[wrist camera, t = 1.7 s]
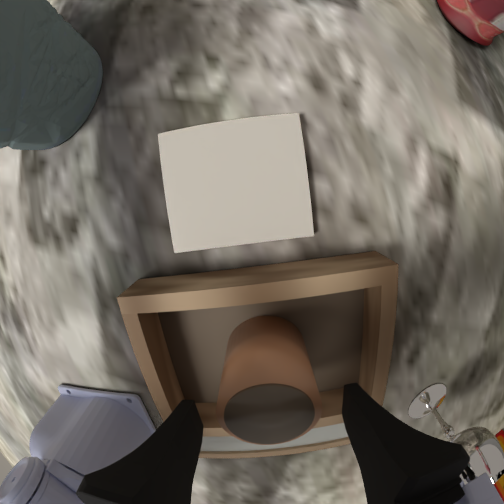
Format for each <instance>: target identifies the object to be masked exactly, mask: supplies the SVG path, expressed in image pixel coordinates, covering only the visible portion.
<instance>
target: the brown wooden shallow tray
mask: <svg viewBox="0 0 504 504" xmlns="http://www.w3.org/2000/svg"><path fill="white" fill-rule="evenodd" d="M397 292H398V264H397V263H395V262H394V261H392V260H390V259H388V258H387V257H385V256H383V255H381V254H380V253H378V252H376V251H371V252H364V253H356V254H349V255H341V256H334V257H326V258H318V259H310V260H302V261H295V262H287V263H278V264H270V265H262V266H254V267H245V268H237V269H228V270H220V271H211V272H202V273H193V274H184V275H175V276H165V277H156V278H147V279H138V280H137V281H136V282H135V283H134V284H132V285H131V286H130V287H129V288H128V289H126V290H125V291H124V292H123V293H122V294H120V295H119V296H118V297H117V300H118V303H119V307H120V310H121V313H122V317H123V320H124V323H125V326H126V330H127V333H128V336H129V339H130V342H131V344H132V347H133V350H134V353H135V356H136V359H137V361H138V364H139V367H140V369H141V372H142V374H143V377H144V379H145V382H146V384H147V387H148V389H149V391H150V394H151V396H152V398H153V401H154V403H155V405H156V407H157V410H158V412H159V414H160V416H161V418H162V420H163V422H164V421H165V420H166V419H167V418H168V416H169V415H170V414H171V413H172V412H173V410H174V409H175V408H176V407H177V405H178V404H179V403H180V402H181V401H182V400H194V401H195V404H196V407H197V410H198V412H199V415H200V418H201V421H202V423H203V426H204V427H203V437H224V436H231V435H230V434H228V433H227V432H226V431H225V430H224V429H223V428H222V427H221V426H220V424H219V423H218V420H217V417H216V405H217V400H218V394H219V388H220V383H221V377H222V371H223V366H224V360H225V354H226V349H227V343H228V339H229V337H230V335H231V333H232V332H233V330H234V329H235V328H236V327H237V326H238V325H240V324H241V323H242V322H244V321H246V320H248V319H250V318H254V317H258V316H276V317H280V318H283V319H285V320H288V321H289V322H291V323H292V324H294V325H295V326H296V327H297V328H298V329H299V331H300V332H301V334H302V336H303V339H304V343H305V346H306V350H307V353H308V356H309V360H310V363H311V367H312V370H313V374H314V377H315V381H316V384H317V388H318V391H319V395H320V398H321V402H322V414H321V417H320V419H319V421H318V422H317V424H316V425H315V426H314V427H313V428H319V427H325V426H330V425H335V424H340V423H344V421H343V417H342V404H343V392H344V385H346V384H351V383H358V384H359V385H360V386H361V387H362V388H363V389H364V390H365V391H366V392H367V393H368V394H369V395H370V396H371V397H372V398H373V399H374V400H375V401H376V402H377V403H378V404H379V405H381V406H382V405H383V400H384V396H385V391H386V385H387V380H388V374H389V368H390V361H391V355H392V347H393V339H394V330H395V320H396V308H397ZM313 428H312V429H313Z"/></svg>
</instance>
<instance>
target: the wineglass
mask: <svg viewBox="0 0 504 504" xmlns="http://www.w3.org/2000/svg"><path fill="white" fill-rule="evenodd" d="M446 392H447V389H446V386H445V385H444V384H434V385H432V386H430V387H428V388H426V389H425V390H423V391H422V392H421V393H420V394H418V395H417V396H416V397H415V399H414V400H413V401H412V403H411V404H410V406H409V409H408V415H409V416H410V417H411V418H414V419H417V418H422V417H424V416H426V415H428V414H430V413H431V412H432V413H433V414H434V416H435V417H436V419H437V420H438V422H439V423H440V426H441V428H442V433H443V435H444V436H445V437H446V438H447V439H450V440H449V441H448V442H452V443H457V444H461V445H462V446H463V448H464V449H465V450H466V452H467V453H468V455H469V457H470V461H469V464H468V465H467V467H466V468H465V469H464V471H463V472H462V473H461V475H460V478H461V480H462V482H461V483H460V485H461V487H463V486H465V485H466V484H467V483H469V482H470V481H472V480H474V479H475V478H477V477H478V476H480V475H482V474H483V473H487V474H488V476H489V478H490V479H491V481H492V483H493V484H494V483H495V482H497V481H498V480H499V479H500V478H501V477H502V476H503V474H504V452H503V449H502V447H501V445H500V443H499V441H498V439H497V438H496V436H495V435H494V434H493V433H492V432H491V431H489V430H488V429H486V428H484V427H471V428H468V429H466V430H464V431H462V432H460V433H458V434H456V435H454V430H453V428H452V427H451V426H450V425H448V424H447V423H446V422H445V421H444V420H443V419H442V417H441V416H440V414H439V413H438V411H437V409H436V408H437V407H438V406H439V405H440V404H441V403H442V401H443V400H444V398H445V396H446Z"/></svg>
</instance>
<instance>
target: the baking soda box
mask: <svg viewBox="0 0 504 504" xmlns="http://www.w3.org/2000/svg"><path fill="white" fill-rule="evenodd" d="M495 436H496V438H497V439H498V441H499V443H500V445H501V447H502V449H503V452H504V431H503V430H501V431H500V432H499V433H497V434H496V435H495ZM494 486H495V488H496V490H497V491H498V493H499V495H500V497H501V498H502V500H503V502H504V474H503V476H502V477H501V478H500V479H499V480H498V481H497V482H495V483H494Z"/></svg>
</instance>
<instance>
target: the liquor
mask: <svg viewBox="0 0 504 504" xmlns="http://www.w3.org/2000/svg"><path fill="white" fill-rule="evenodd" d="M437 2H438V5H439V8H440V10H441V12H442V14H443V15H444V17H445V18H446V20H447V21H448V22H449V23H450V24H451V25H452V26H453V27H454V28H455V29H456V30H457V31H458V32H460V33H461V34H463V35H464V36H466V37H468V38H470V39H472V40H473V41H475V42H477V43H479V44H481V45H485V46H486V45H490V44H491V43H492V41H493V37H494V36H496V35H499V34H501V33H503V32H504V0H437Z"/></svg>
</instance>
